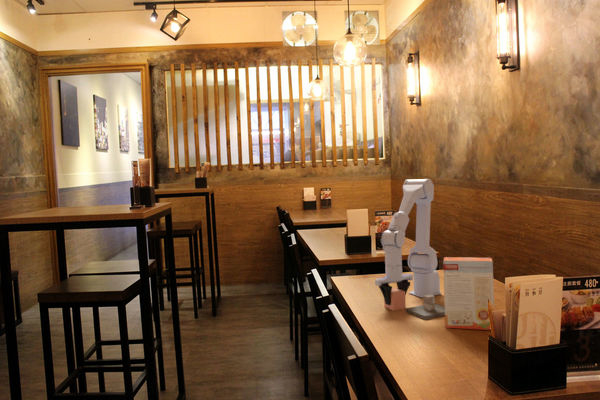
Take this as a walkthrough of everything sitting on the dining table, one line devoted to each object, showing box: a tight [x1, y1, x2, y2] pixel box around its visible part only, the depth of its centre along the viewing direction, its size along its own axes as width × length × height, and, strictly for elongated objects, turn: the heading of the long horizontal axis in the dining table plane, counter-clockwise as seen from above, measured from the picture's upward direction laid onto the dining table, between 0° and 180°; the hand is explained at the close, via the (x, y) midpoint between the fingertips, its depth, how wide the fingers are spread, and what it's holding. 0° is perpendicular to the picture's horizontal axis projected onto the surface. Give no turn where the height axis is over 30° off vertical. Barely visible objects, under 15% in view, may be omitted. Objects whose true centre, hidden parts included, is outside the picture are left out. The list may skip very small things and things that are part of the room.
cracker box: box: [442, 256, 495, 331], centre depth 145 cm, size 14×6×21 cm, turn 71°
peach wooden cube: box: [383, 287, 407, 312], centre depth 168 cm, size 5×5×6 cm
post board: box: [405, 294, 445, 320], centre depth 160 cm, size 12×10×6 cm
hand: (394, 303), depth 168 cm, fingers closed on peach wooden cube, 5 cm apart
